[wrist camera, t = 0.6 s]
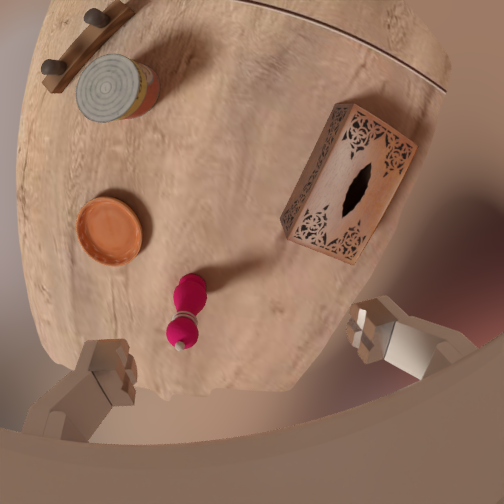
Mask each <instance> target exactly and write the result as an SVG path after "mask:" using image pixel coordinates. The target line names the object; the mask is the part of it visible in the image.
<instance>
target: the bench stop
mask: <svg viewBox="0 0 504 504" xmlns="http://www.w3.org/2000/svg"><path fill="white" fill-rule="evenodd" d="M134 14H135V13H134V12H133V11H132V10H131V9H129V8H128V7H127V6H126V5H125V4H124V3H122V2H121V1H120V0H115V1H114V2H113V3H112V4H110V5H109V6H108V7H107V8H106V9H105V10H104V11H103V12H101V11H100V10H98V9H96V8H92V9H90V10H89V11H87V12H86V14H85V16H84V21H85V22H86V23H88V24H90V25H89V26H88V27H87V28H86V29H85V30H84V31H83V32H82V33H81V34H80V36H79V37H78V38H77V39H76V40H75V41H74V42H73V43H72V45H71V46H70V47H69V48H68V49H67V50H66V52H65V53H64V54H63V55H62V57H61V58H60V59H59V60H51V59H47V60H46V61H44V63H43V64H42V66H41V72H42V74H44V75H47V76H46V77H45V79H44V80H43V82H42V83H43V85H44V86H45V87H46V88H47V89H48V91H49V92H50V93H62V92H63V90H64V89H65V88H66V86H67V85H68V84H69V83H70V81H71V80H72V79H73V78H74V76H75V75H76V74H77V73H78V71H79V70H80V69H81V68H82V67H83V66H84V64H85V63H86V62H87V61H88V60H89V59H90V58H91V57H92V55H93V54H94V53H95V52H96V51H97V50H98V49H99V48H100V47H101V46H102V45H103V44H104V43H105V42H106V41H107V40H108V39H109V38H110V37H111V36H112V35H113V34H114V33H115V32H116V31H117V30H118V29H119V28H120V27H121V26H122V25H123V24H124V23H125V22H127V21H128V20H129V19H130V18H131V17H132V16H133V15H134Z"/></svg>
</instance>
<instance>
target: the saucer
mask: <svg viewBox="0 0 504 504" xmlns="http://www.w3.org/2000/svg"><path fill="white" fill-rule="evenodd" d="M76 232H77V237H78V240H79V242H80V244H81V246H82V248H83V249H84V251H85V252H86V253H87V254H88V255H89V256H90V257H91V258H92V259H94V260H95V261H97V262H99V263H101V264H103V265H107V266H122V265H125V264H127V263H129V262H131V261H132V260H133V259H134V258H135V257H136V256H137V254H138V253H139V250H140V248H141V245H142V238H143V234H142V228H141V224H140V222H139V219H138V217H137V216H136V214H135V213H134V212H133V210H132V209H131V208H130V207H129V206H128V205H126V204H125V203H124V202H122V201H120V200H118V199H116V198H112V197H98V198H95V199H92V200H90V201H89V202H87V203H86V204H85V205H84V206H83V207H82V208H81V210H80V212H79V214H78V217H77V221H76Z"/></svg>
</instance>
